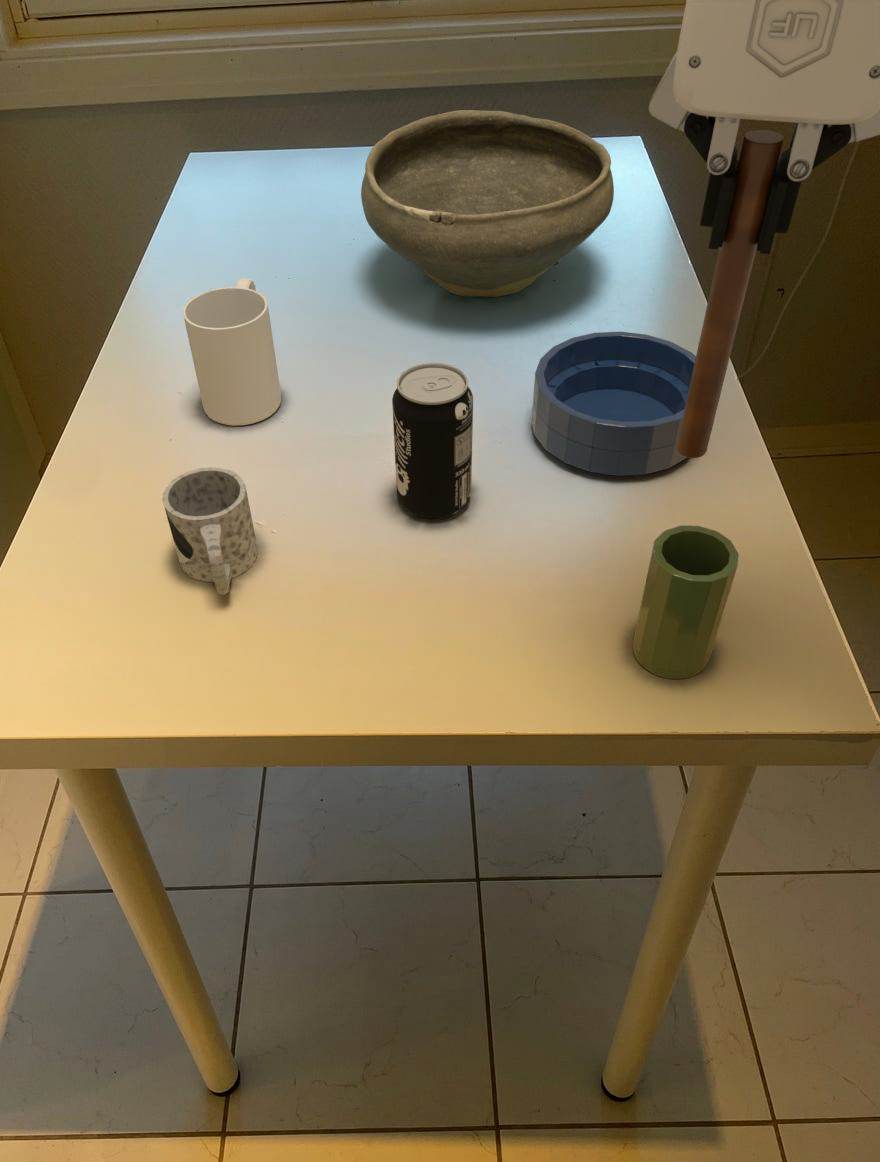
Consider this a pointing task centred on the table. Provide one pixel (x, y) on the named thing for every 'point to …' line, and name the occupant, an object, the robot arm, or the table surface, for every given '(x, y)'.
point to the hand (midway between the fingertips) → (740, 238)
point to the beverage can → (433, 439)
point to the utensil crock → (684, 600)
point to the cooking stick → (729, 288)
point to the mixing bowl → (612, 402)
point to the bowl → (486, 197)
